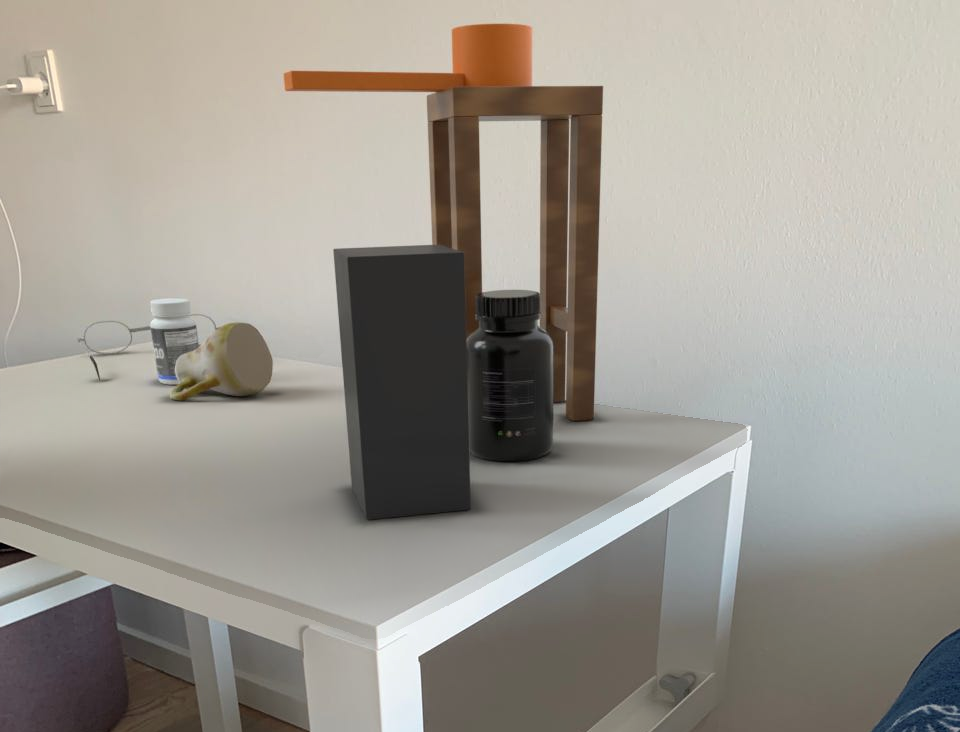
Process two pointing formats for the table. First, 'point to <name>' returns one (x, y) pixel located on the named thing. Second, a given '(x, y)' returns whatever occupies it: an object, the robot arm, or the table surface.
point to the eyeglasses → (129, 342)
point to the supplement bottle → (509, 378)
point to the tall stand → (461, 211)
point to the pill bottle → (171, 335)
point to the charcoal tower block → (405, 377)
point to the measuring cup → (476, 62)
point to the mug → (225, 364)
